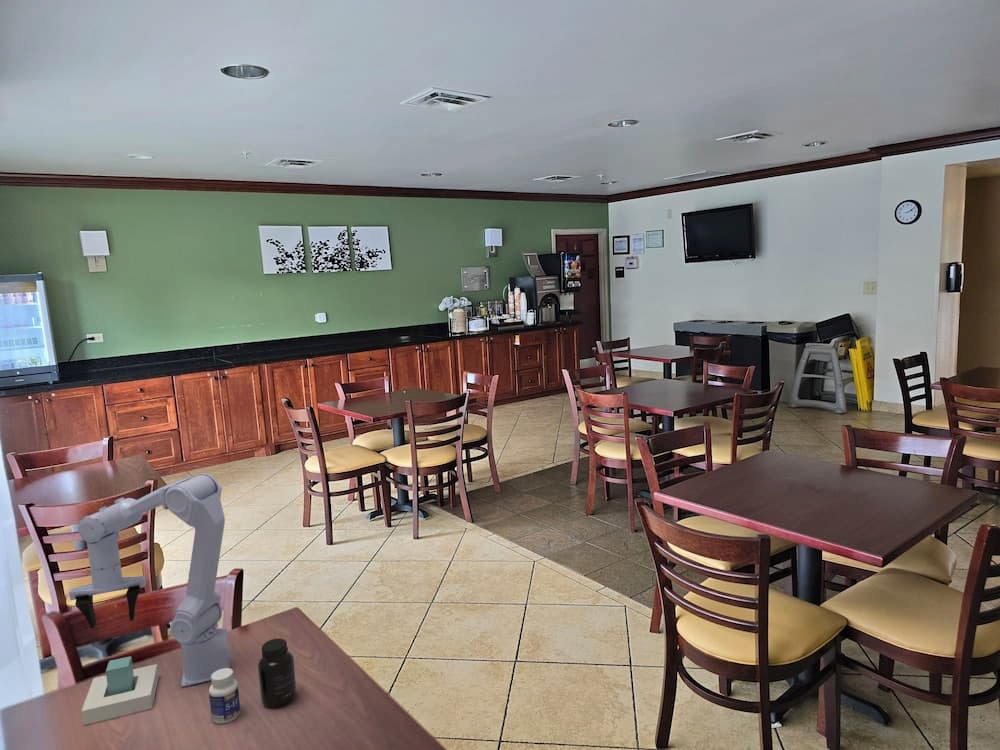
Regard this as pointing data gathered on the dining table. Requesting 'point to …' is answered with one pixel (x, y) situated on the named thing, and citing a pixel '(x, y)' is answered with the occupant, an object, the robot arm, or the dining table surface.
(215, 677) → the pill bottle
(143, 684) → the socket block
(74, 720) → the dining table surface
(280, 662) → the supplement bottle
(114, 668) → the peg
